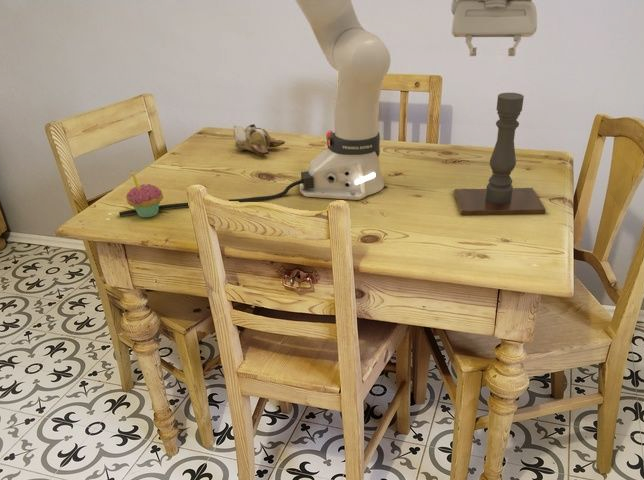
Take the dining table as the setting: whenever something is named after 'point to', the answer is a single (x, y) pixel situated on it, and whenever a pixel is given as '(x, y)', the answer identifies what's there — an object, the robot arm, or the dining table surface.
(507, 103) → the candle holder
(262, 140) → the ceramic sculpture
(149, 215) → the cupcake
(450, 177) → the dining table surface
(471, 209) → the board
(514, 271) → the dining table surface
